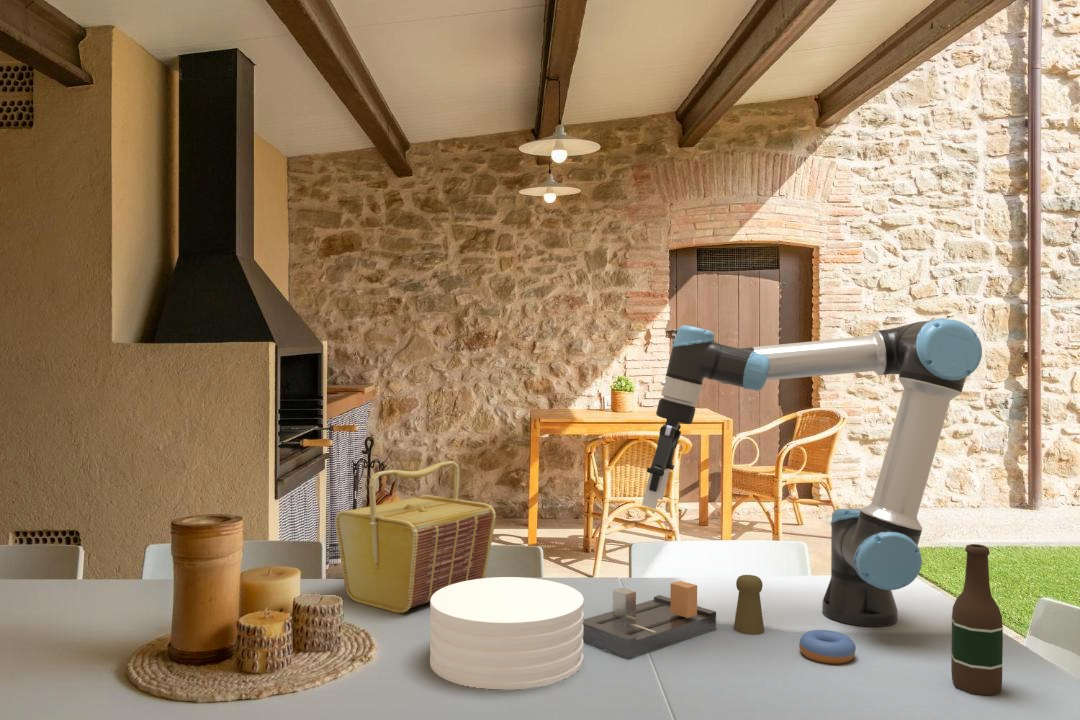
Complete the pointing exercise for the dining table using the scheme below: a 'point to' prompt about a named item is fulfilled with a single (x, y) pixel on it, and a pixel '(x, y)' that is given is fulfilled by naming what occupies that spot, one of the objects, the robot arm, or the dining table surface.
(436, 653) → the plate stack
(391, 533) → the picnic basket
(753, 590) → the cork
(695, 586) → the fader
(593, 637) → the slider panel
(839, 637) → the doughnut
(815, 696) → the dining table surface
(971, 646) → the beer bottle
